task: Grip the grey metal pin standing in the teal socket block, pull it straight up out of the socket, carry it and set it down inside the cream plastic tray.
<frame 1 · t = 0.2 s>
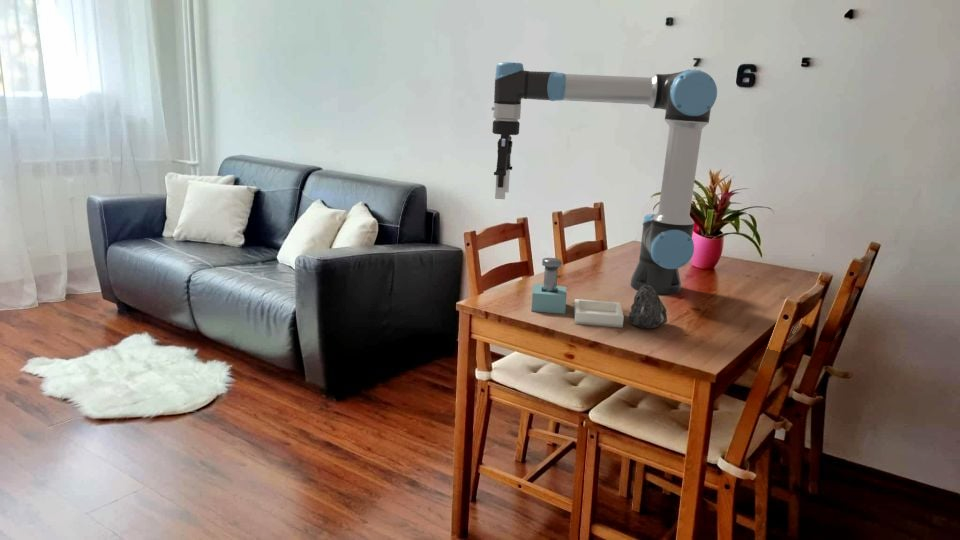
hand: (502, 195, 194), 28 cm above the table, fingers open, 13 cm apart
tray: (597, 318, 178), on the table
pin: (550, 283, 183), in the socket block
socket block: (548, 307, 185), on the table
rock: (648, 327, 174), on the table
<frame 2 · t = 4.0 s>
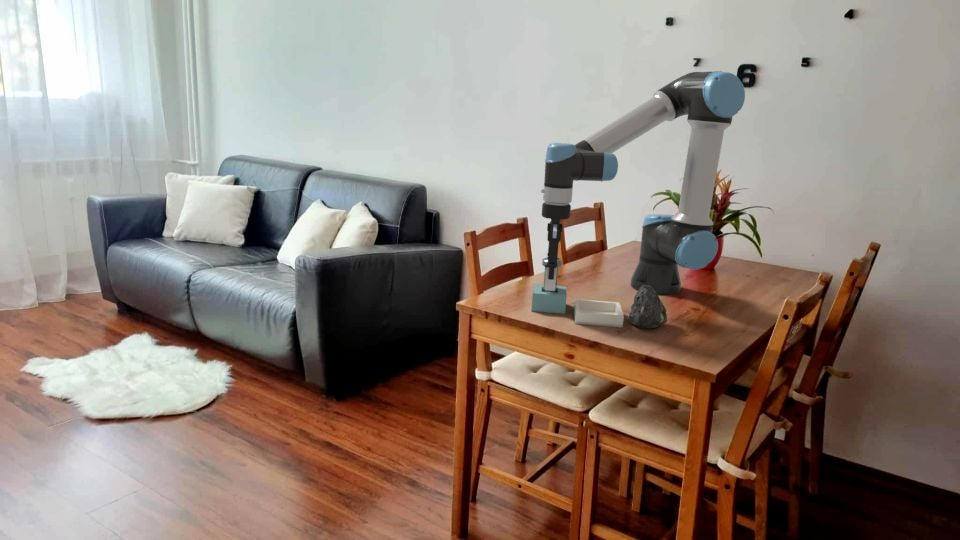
hand: (549, 287, 184), 6 cm above the table, fingers closed on pin, 5 cm apart
pin: (550, 283, 183), in the socket block, touching gripper
everything else where it was.
when the fingers open (7 cm above the table, at t = 10.3 s): pin stays where it is, resting on tray.
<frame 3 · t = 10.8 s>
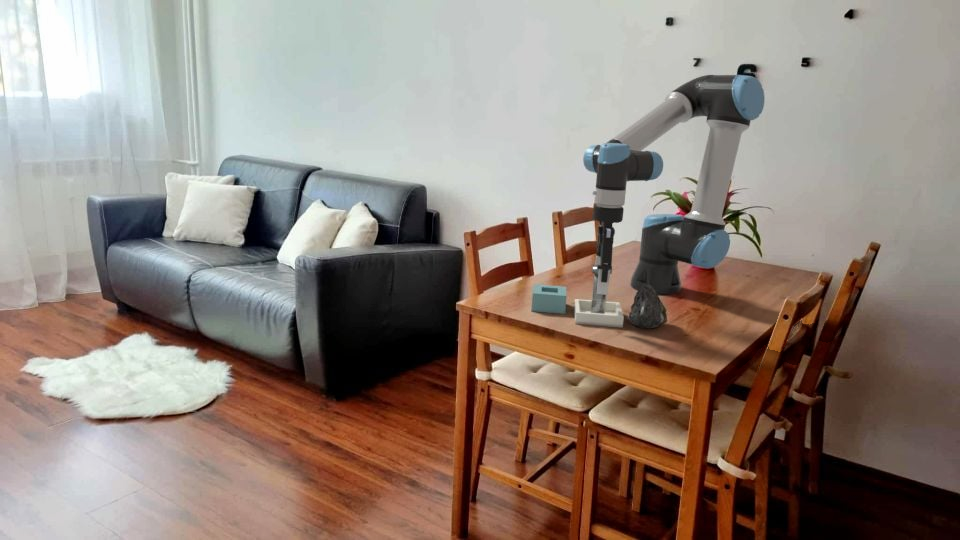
hand: (600, 287, 176), 9 cm above the table, fingers open, 12 cm apart
pin: (599, 291, 176), in the tray, point 7 cm above the table
everything else where it was.
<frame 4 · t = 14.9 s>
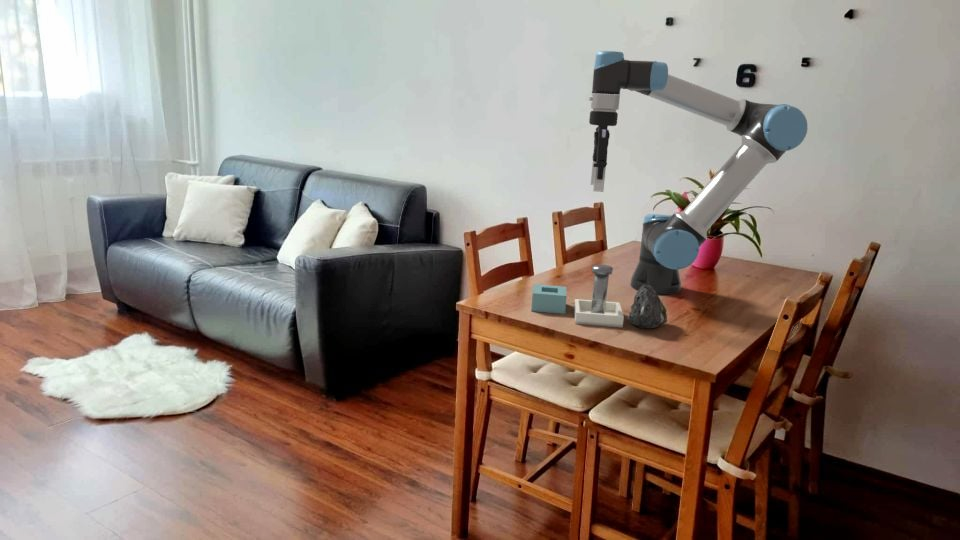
hand: (596, 188, 190), 32 cm above the table, fingers open, 13 cm apart
nothing on the table moved.
at the end: pin inside the target area on the tray (0.0 cm from its centre), point 7.3 cm above the tray's base; the gripper is holding nothing; pin 0.0 cm from the tray (horizontally) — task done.
